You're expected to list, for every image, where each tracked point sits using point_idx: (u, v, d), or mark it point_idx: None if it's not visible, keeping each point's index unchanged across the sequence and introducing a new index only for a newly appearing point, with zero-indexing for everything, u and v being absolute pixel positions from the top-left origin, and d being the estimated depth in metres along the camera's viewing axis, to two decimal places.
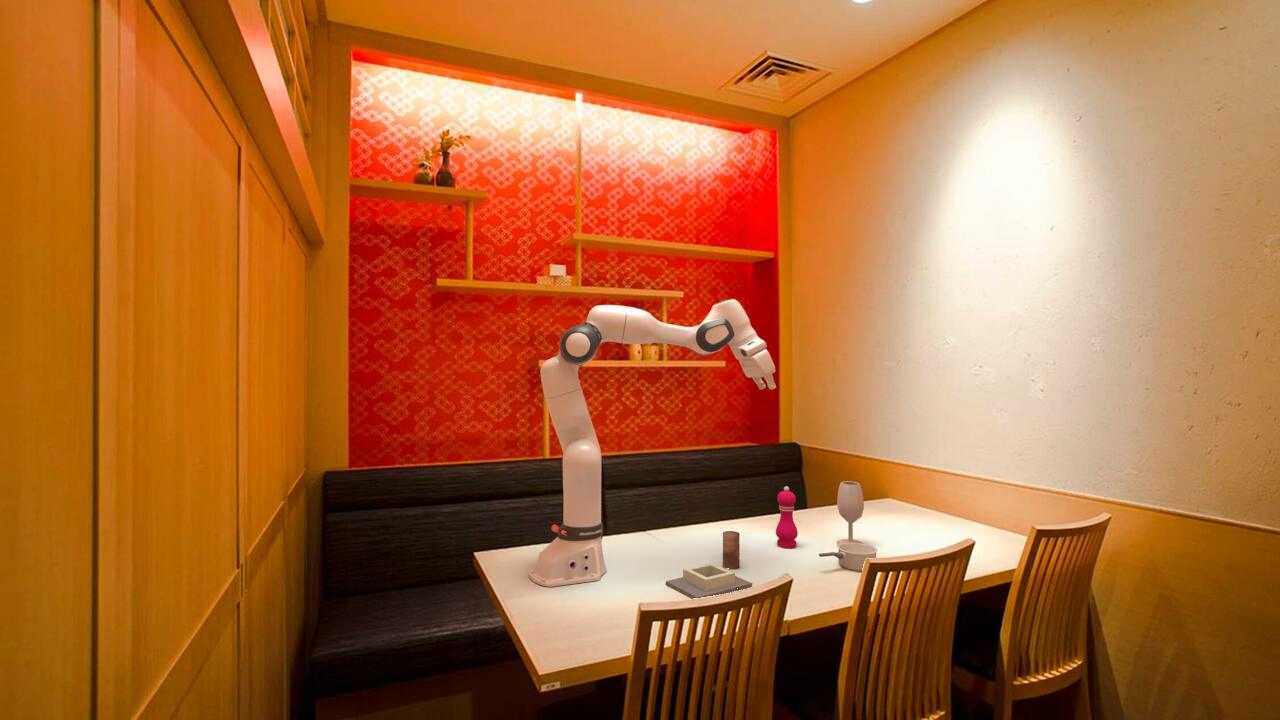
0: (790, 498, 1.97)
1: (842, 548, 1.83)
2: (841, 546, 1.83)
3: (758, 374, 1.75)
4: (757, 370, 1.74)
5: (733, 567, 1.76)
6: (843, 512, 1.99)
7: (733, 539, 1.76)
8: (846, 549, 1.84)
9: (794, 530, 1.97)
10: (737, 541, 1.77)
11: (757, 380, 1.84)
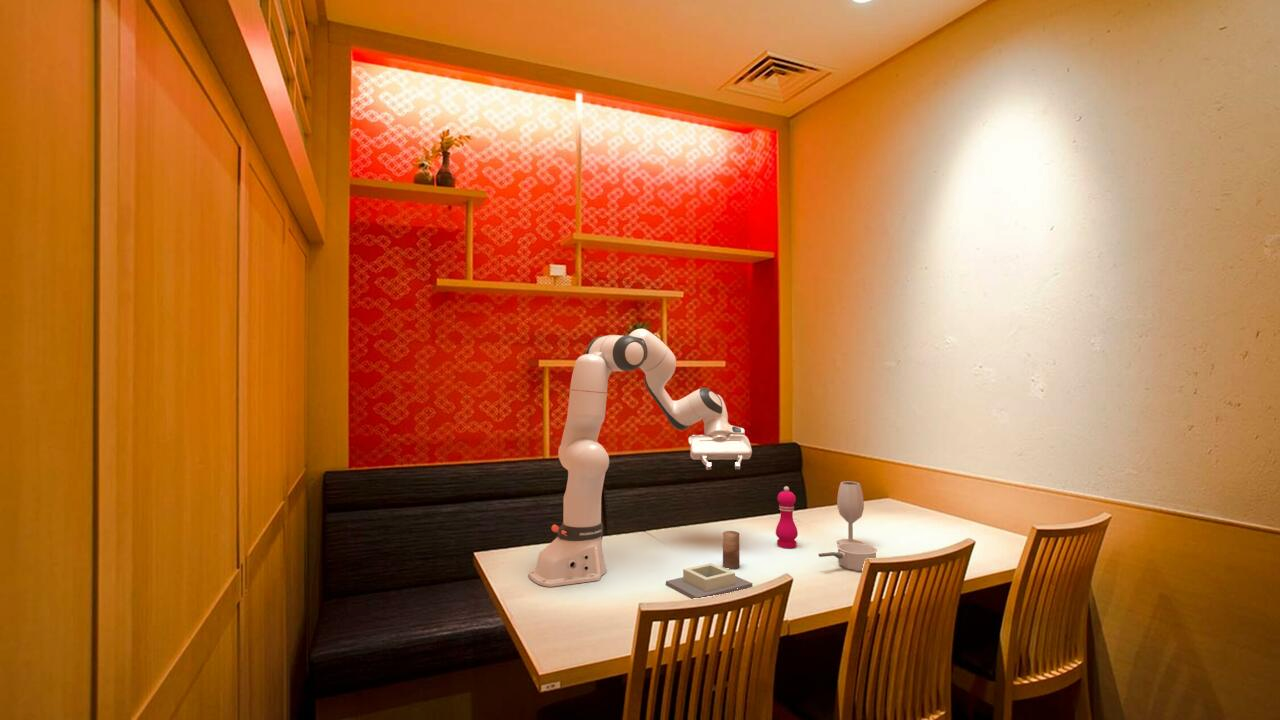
0: (790, 498, 1.97)
1: (842, 548, 1.83)
2: (841, 546, 1.83)
3: (734, 450, 1.94)
4: (736, 447, 1.95)
5: (733, 567, 1.76)
6: (843, 512, 1.99)
7: (733, 539, 1.76)
8: (846, 549, 1.84)
9: (794, 530, 1.97)
10: (737, 541, 1.77)
11: None
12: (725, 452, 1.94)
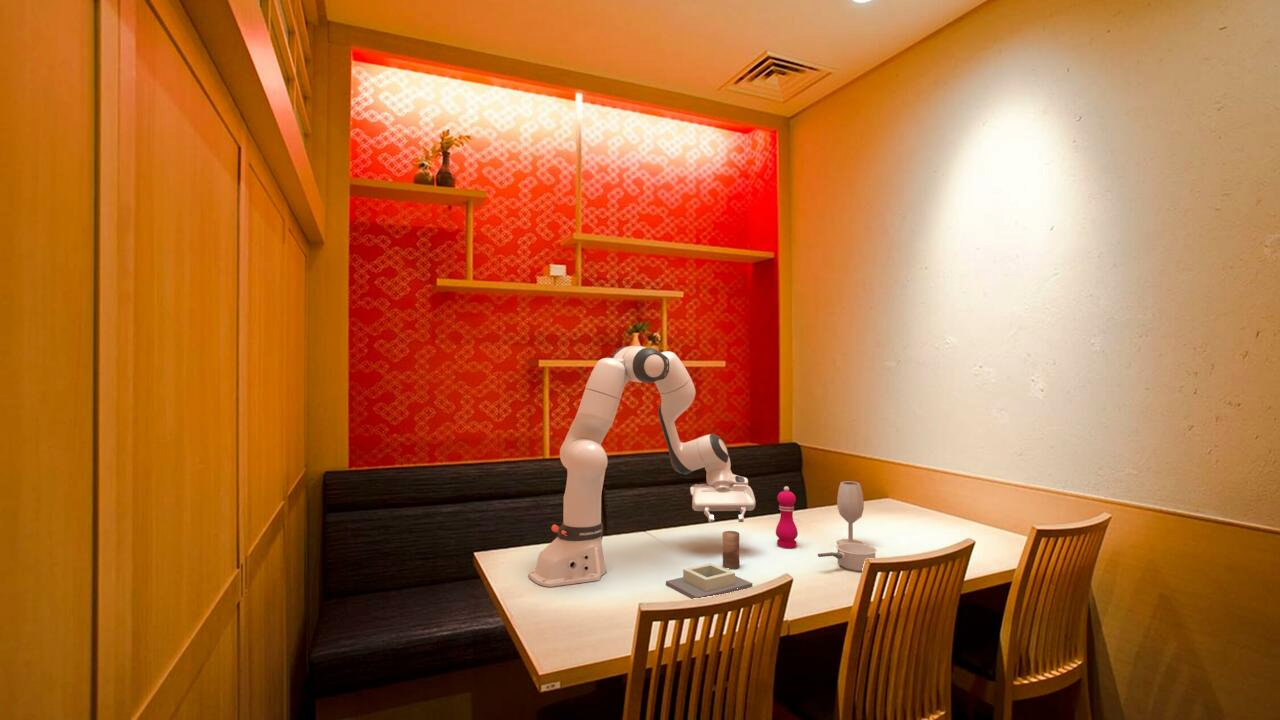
0: (790, 498, 1.97)
1: (841, 548, 1.83)
2: (840, 546, 1.83)
3: (737, 502, 1.89)
4: (739, 498, 1.90)
5: (733, 567, 1.76)
6: (843, 512, 1.99)
7: (733, 539, 1.76)
8: (845, 549, 1.84)
9: (794, 530, 1.97)
10: (737, 541, 1.77)
11: None
12: (728, 504, 1.88)
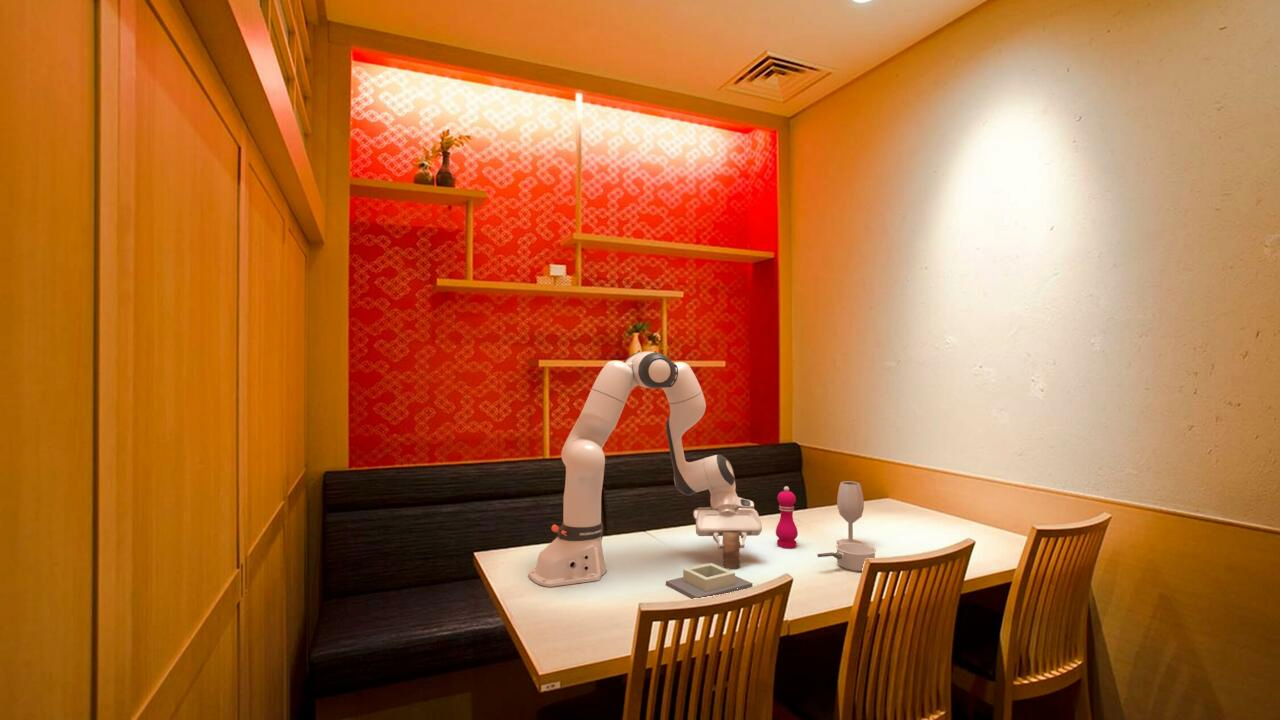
0: (790, 498, 1.97)
1: (841, 548, 1.83)
2: (840, 546, 1.82)
3: (743, 527, 1.81)
4: (745, 523, 1.82)
5: (733, 567, 1.76)
6: (843, 512, 1.99)
7: (733, 539, 1.76)
8: (845, 549, 1.83)
9: (794, 530, 1.97)
10: (737, 541, 1.77)
11: None
12: (733, 529, 1.80)
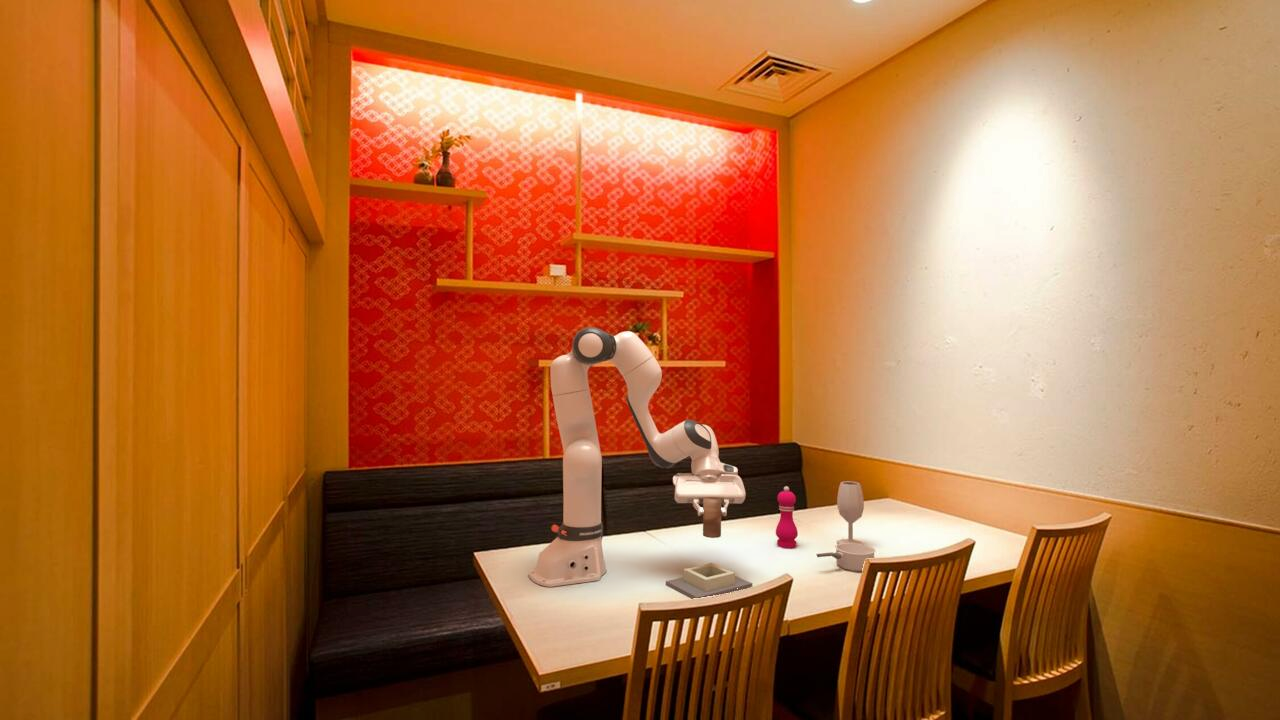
0: (790, 498, 1.97)
1: (840, 548, 1.83)
2: (839, 546, 1.82)
3: (725, 493, 1.68)
4: (728, 490, 1.69)
5: (714, 535, 1.63)
6: (843, 512, 1.99)
7: (714, 505, 1.63)
8: (844, 549, 1.83)
9: (794, 530, 1.97)
10: (719, 508, 1.64)
11: None
12: (715, 495, 1.67)
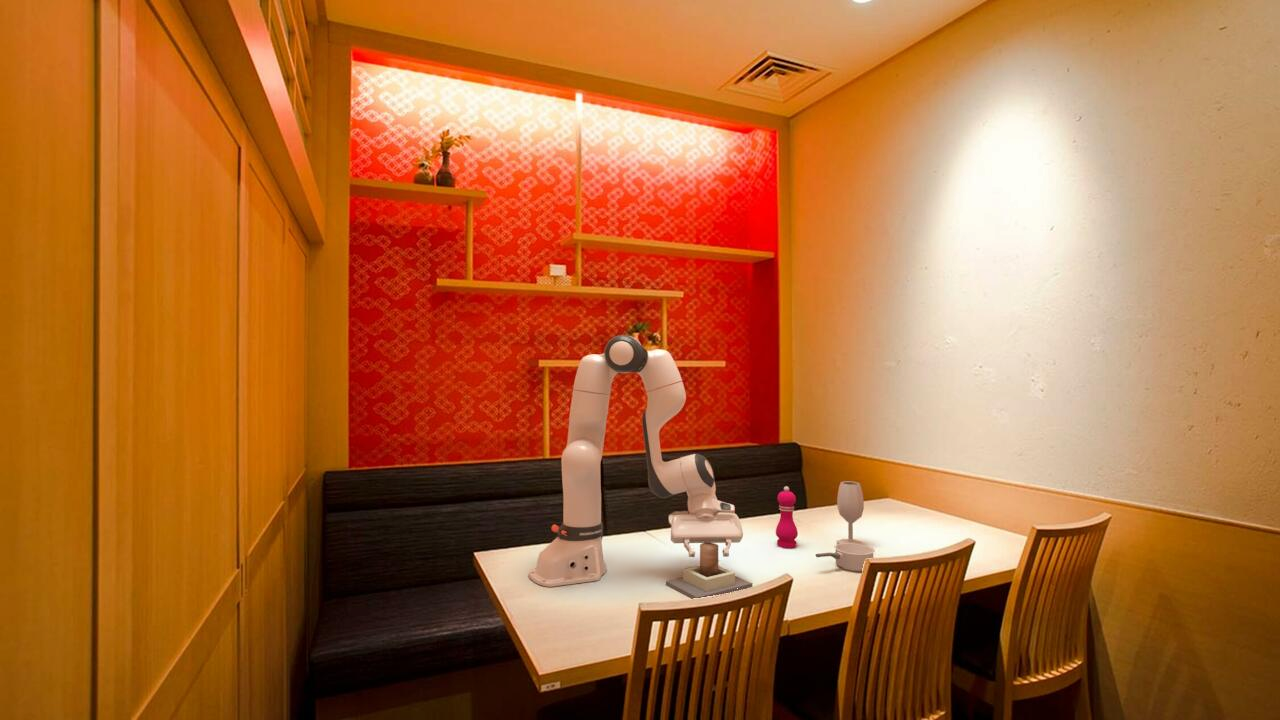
0: (790, 498, 1.97)
1: (839, 548, 1.83)
2: (838, 546, 1.82)
3: (722, 533, 1.65)
4: (724, 529, 1.66)
5: None
6: (843, 512, 1.99)
7: (711, 552, 1.60)
8: (843, 549, 1.83)
9: (794, 530, 1.97)
10: (716, 554, 1.60)
11: None
12: (711, 535, 1.64)
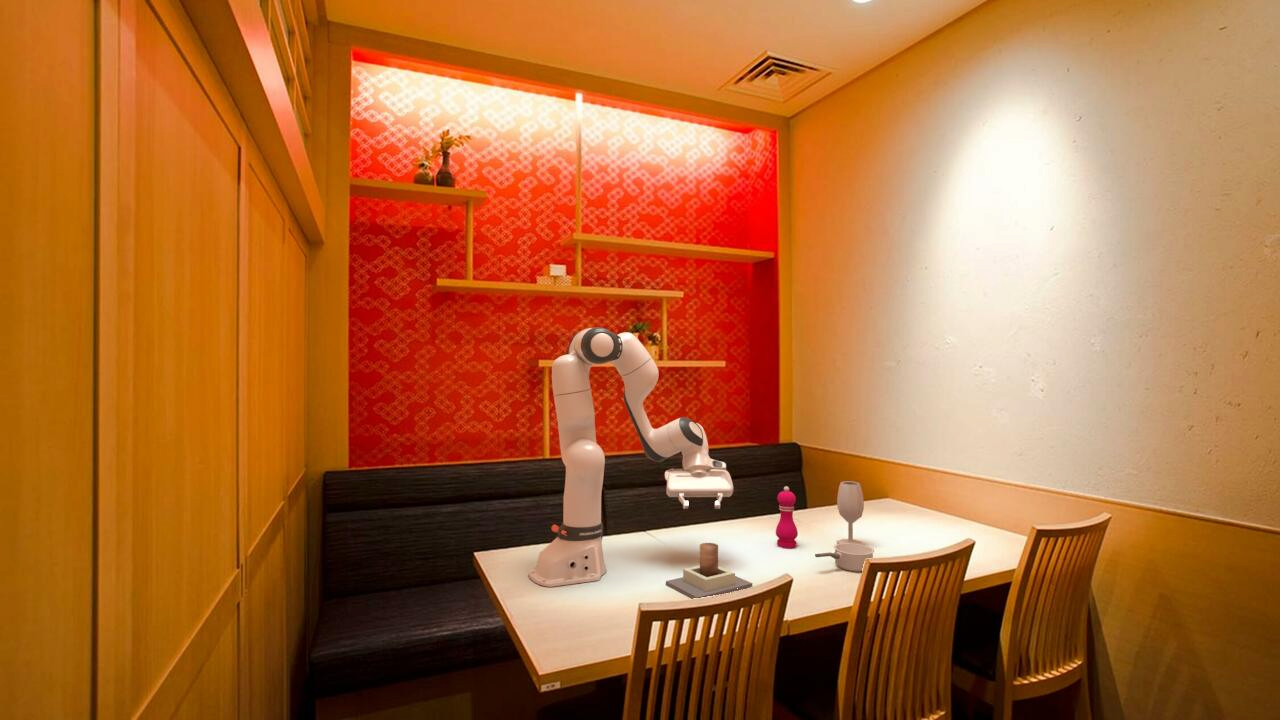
0: (790, 498, 1.97)
1: (839, 548, 1.83)
2: (838, 546, 1.82)
3: (714, 487, 1.78)
4: (716, 484, 1.79)
5: None
6: (843, 512, 1.99)
7: (711, 552, 1.60)
8: (843, 549, 1.83)
9: (794, 530, 1.97)
10: (715, 554, 1.60)
11: None
12: (704, 489, 1.77)
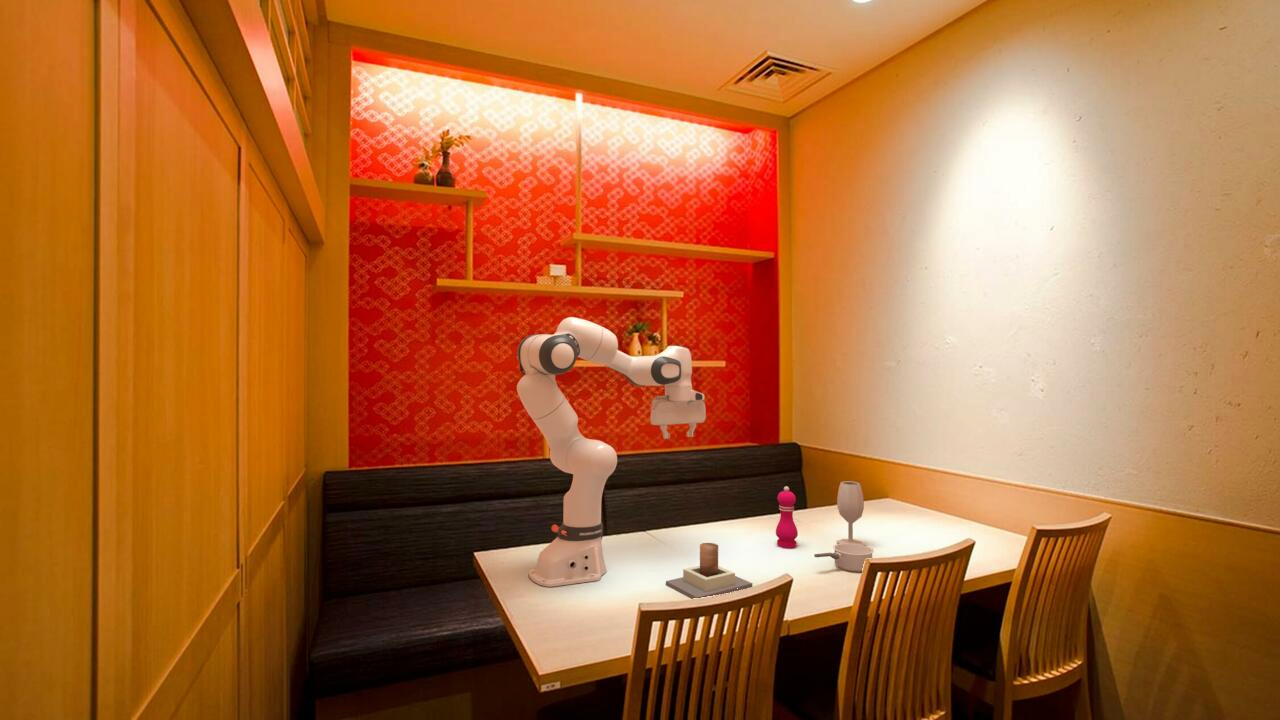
0: (790, 498, 1.97)
1: (838, 549, 1.82)
2: (837, 547, 1.82)
3: (691, 420, 1.94)
4: (694, 416, 1.94)
5: None
6: (843, 512, 1.99)
7: (711, 552, 1.60)
8: (842, 550, 1.83)
9: (794, 530, 1.97)
10: (715, 554, 1.60)
11: None
12: (684, 422, 1.92)
